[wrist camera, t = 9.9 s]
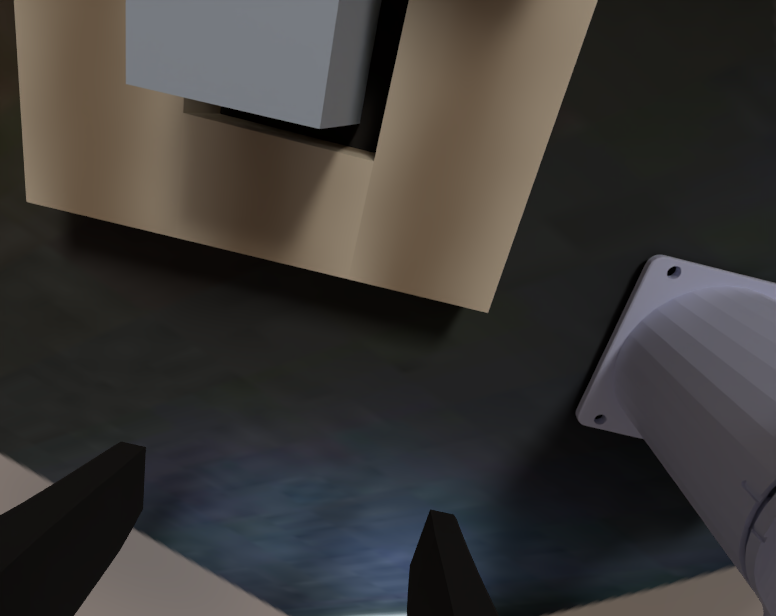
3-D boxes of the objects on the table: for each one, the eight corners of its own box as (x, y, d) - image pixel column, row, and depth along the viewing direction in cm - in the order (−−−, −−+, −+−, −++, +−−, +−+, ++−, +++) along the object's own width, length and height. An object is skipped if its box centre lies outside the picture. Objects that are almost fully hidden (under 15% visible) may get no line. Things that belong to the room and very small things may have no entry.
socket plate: (620, -150, 14) (673, -217, 11) (476, 284, 19) (487, 312, 16) (77, -309, 13) (-13, -423, 10) (84, 188, 18) (26, 201, 16)
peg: (382, -4, 15) (355, -113, 8) (359, 123, 17) (319, 129, 10) (263, -32, 15) (125, -171, 8) (251, 98, 17) (125, 83, 9)
